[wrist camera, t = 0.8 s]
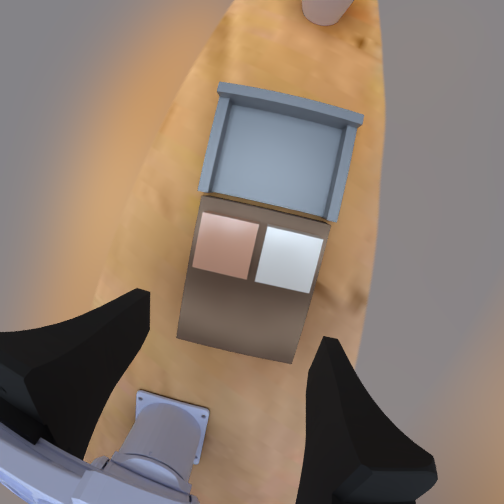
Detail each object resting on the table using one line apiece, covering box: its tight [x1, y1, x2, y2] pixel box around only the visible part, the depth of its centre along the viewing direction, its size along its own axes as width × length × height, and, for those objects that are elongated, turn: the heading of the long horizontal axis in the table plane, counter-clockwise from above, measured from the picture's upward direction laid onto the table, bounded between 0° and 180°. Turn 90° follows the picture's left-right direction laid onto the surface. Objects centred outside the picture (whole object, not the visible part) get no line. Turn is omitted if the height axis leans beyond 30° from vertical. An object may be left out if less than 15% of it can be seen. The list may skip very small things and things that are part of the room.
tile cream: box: [255, 224, 323, 293], centre depth 24 cm, size 4×4×2 cm
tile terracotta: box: [192, 211, 260, 280], centre depth 24 cm, size 4×4×2 cm
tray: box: [198, 82, 364, 222], centre depth 24 cm, size 8×11×4 cm
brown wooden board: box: [176, 196, 331, 364], centre depth 27 cm, size 12×10×3 cm
